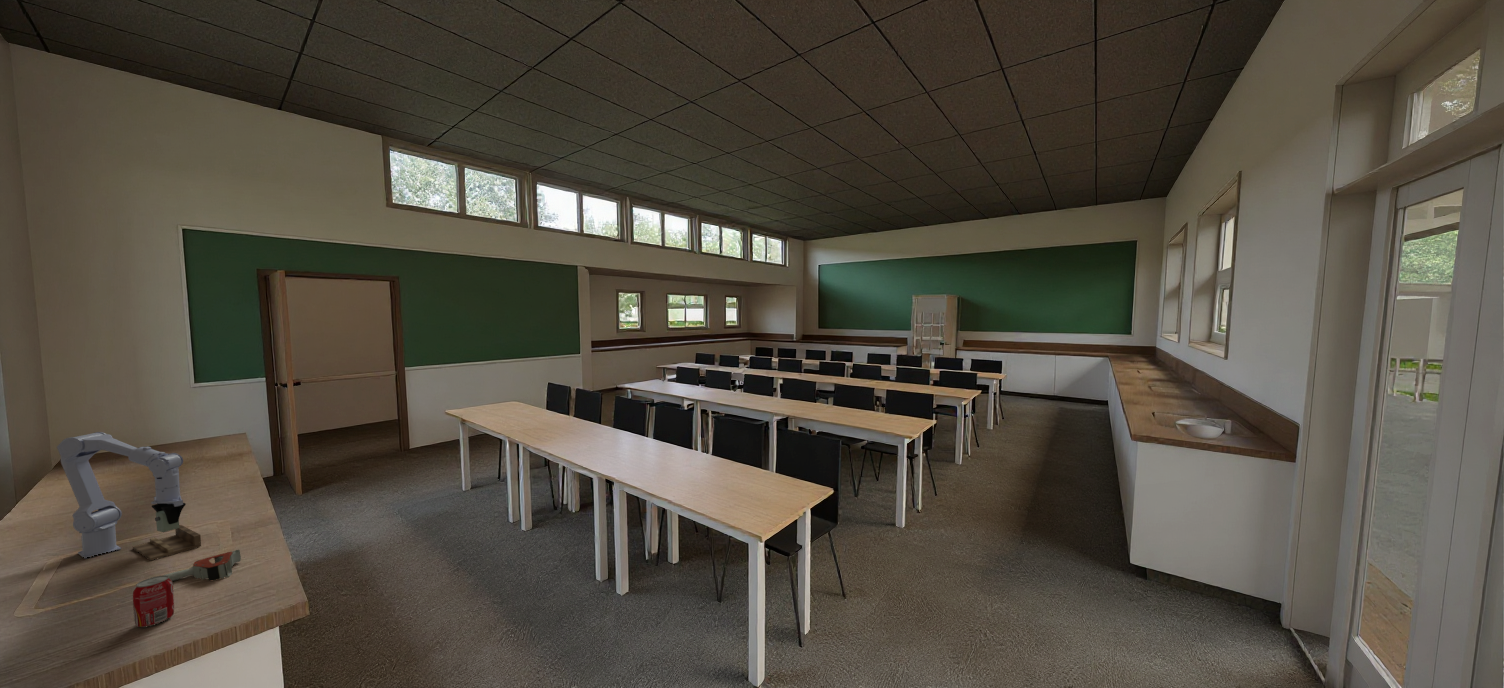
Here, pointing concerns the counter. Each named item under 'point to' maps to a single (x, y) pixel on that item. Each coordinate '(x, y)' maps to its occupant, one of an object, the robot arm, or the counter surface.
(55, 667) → the counter surface
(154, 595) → the soda can
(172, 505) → the robot arm
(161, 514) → the cabinet block
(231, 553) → the tape dispenser
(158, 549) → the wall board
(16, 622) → the counter surface
